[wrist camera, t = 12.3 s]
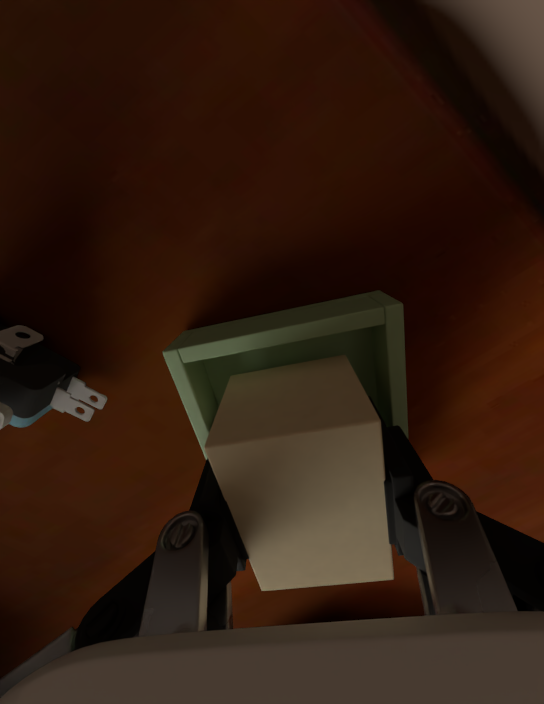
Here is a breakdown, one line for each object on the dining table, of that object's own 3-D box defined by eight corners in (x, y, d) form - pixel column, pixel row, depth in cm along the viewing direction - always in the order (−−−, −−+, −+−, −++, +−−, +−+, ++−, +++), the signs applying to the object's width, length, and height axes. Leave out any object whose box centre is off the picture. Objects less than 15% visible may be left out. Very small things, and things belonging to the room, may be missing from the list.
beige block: (345, 353, 10) (381, 420, 6) (361, 479, 13) (394, 580, 9) (230, 375, 11) (202, 447, 7) (267, 492, 13) (261, 591, 9)
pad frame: (379, 289, 11) (404, 302, 8) (393, 479, 14) (412, 521, 12) (183, 330, 12) (161, 351, 9) (244, 498, 15) (238, 540, 13)
